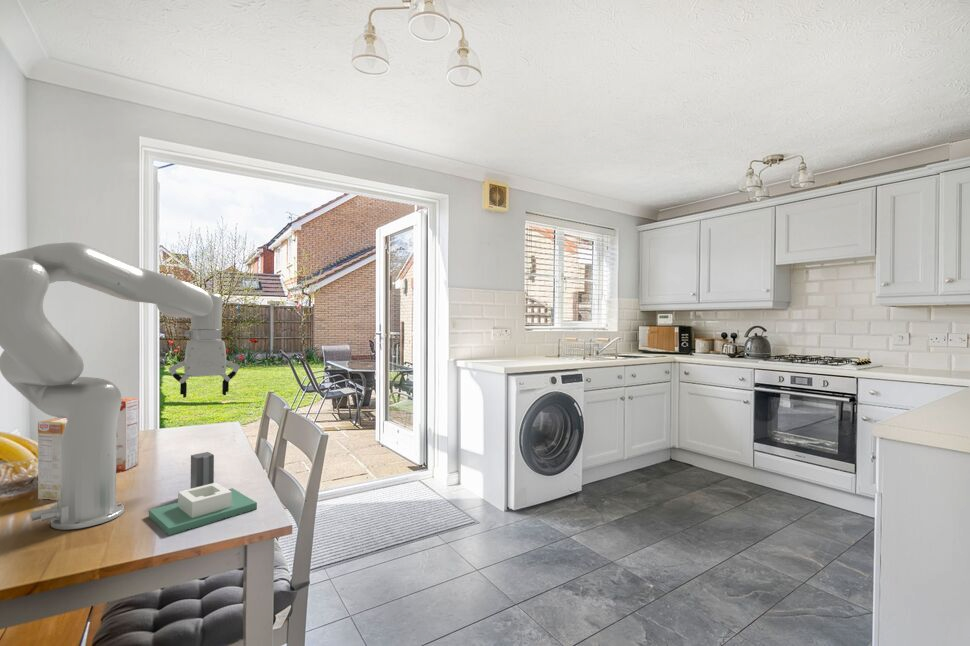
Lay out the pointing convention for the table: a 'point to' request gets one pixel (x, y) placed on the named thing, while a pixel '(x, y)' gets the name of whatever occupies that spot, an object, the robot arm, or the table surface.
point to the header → (204, 499)
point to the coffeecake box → (50, 458)
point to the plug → (202, 469)
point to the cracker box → (127, 434)
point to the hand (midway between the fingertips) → (204, 395)
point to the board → (179, 521)
